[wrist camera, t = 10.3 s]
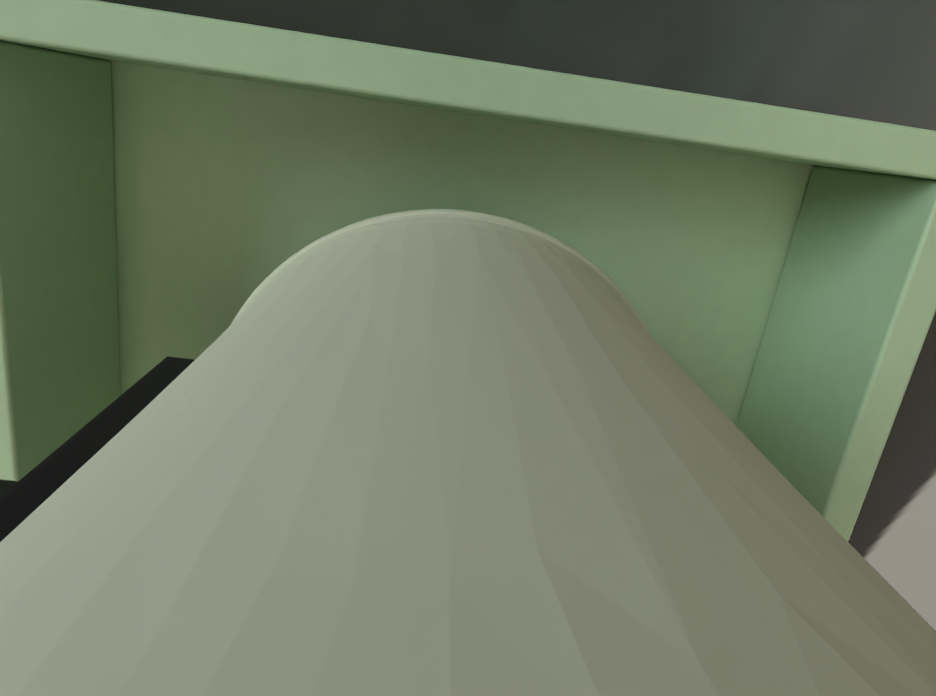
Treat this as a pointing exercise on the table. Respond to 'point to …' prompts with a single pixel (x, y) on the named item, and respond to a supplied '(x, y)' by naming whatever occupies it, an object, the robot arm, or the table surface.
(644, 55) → the table surface
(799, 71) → the table surface
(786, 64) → the table surface
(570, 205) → the bin
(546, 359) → the can
